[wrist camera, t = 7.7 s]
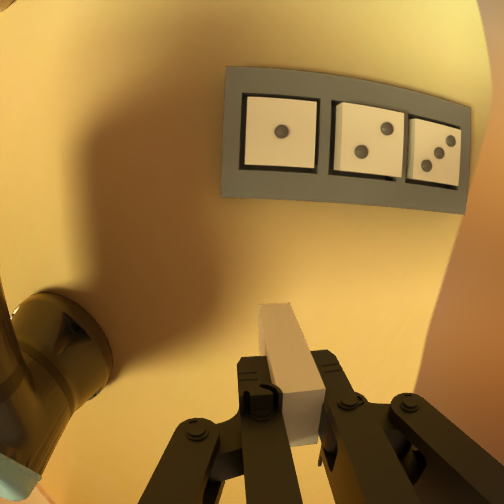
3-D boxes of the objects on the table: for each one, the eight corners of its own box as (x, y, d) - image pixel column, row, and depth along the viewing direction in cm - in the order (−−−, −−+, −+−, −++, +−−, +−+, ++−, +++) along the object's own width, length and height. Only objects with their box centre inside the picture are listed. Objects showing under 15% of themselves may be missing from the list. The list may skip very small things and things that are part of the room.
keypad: (222, 194, 31) (220, 197, 28) (227, 74, 28) (226, 66, 25) (450, 210, 33) (464, 214, 30) (455, 110, 29) (470, 108, 26)
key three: (403, 177, 30) (413, 179, 28) (405, 120, 28) (416, 118, 26) (447, 184, 30) (459, 186, 28) (450, 130, 29) (462, 129, 26)
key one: (244, 164, 29) (244, 164, 27) (247, 100, 27) (247, 96, 25) (309, 167, 29) (314, 168, 27) (311, 105, 28) (317, 101, 26)
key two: (333, 169, 28) (340, 170, 26) (336, 105, 27) (343, 101, 24) (391, 176, 29) (402, 177, 26) (394, 115, 27) (405, 112, 25)
